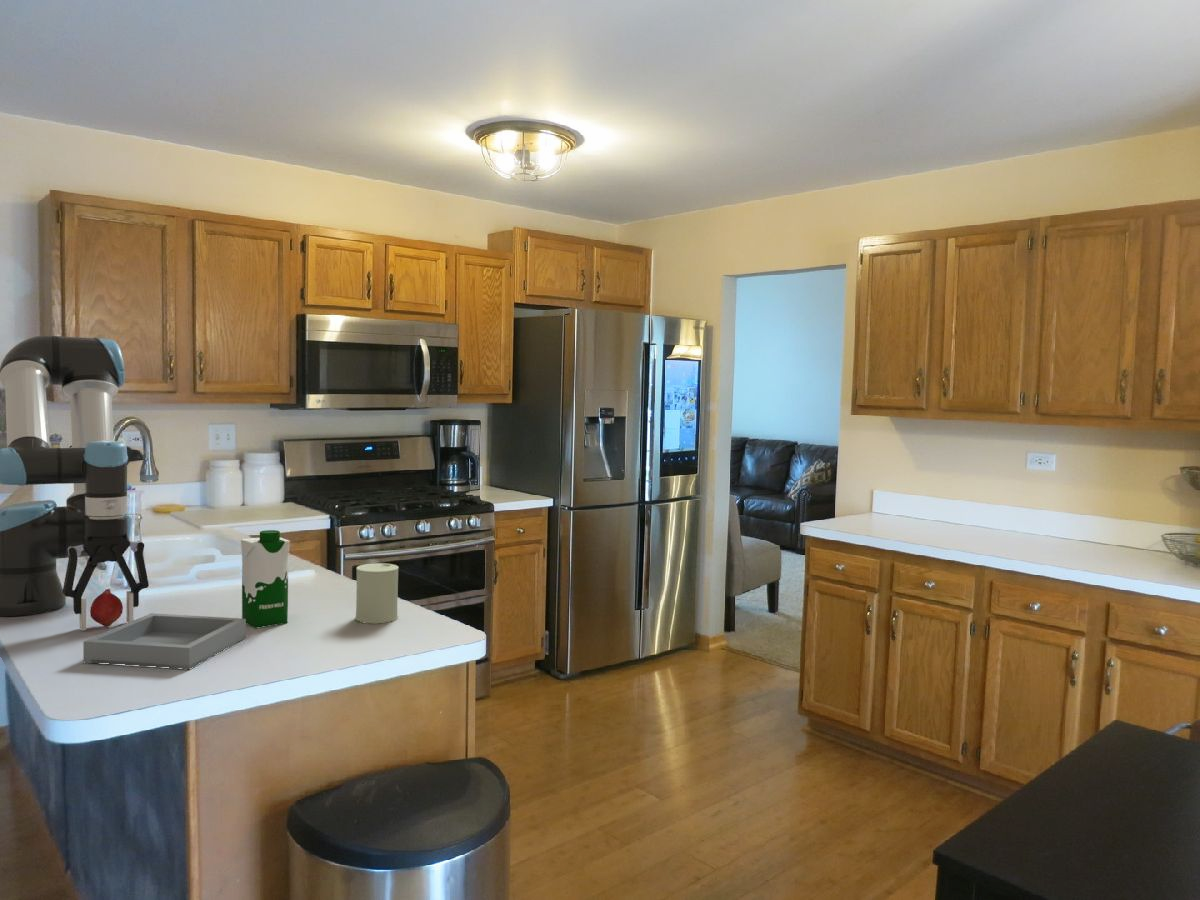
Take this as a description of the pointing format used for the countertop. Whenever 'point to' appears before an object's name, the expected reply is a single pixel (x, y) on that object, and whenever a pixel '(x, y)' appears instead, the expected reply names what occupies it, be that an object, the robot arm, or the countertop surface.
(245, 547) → the milk carton
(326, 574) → the countertop surface
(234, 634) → the tray
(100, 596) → the onion
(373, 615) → the can
